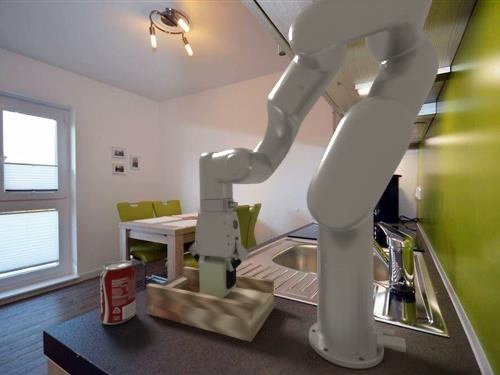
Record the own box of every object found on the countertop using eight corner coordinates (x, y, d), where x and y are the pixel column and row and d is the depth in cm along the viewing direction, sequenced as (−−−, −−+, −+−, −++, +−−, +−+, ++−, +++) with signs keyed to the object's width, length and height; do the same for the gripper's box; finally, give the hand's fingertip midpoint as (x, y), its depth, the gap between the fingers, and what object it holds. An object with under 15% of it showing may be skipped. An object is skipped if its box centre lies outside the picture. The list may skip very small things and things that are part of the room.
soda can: (142, 315, 55) (141, 262, 55) (112, 331, 49) (111, 271, 49) (124, 308, 58) (123, 258, 58) (94, 321, 53) (93, 266, 53)
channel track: (274, 307, 58) (274, 280, 58) (250, 341, 45) (250, 307, 45) (185, 289, 69) (185, 266, 69) (146, 313, 56) (146, 285, 56)
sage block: (235, 286, 58) (235, 257, 58) (223, 297, 52) (222, 265, 52) (214, 283, 60) (213, 255, 60) (199, 293, 55) (199, 262, 55)
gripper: (257, 205, 56) (259, 284, 56) (195, 204, 63) (196, 274, 63) (243, 208, 49) (245, 297, 49) (175, 207, 56) (177, 285, 56)
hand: (218, 284), depth 56 cm, fingers closed on sage block, 6 cm apart
